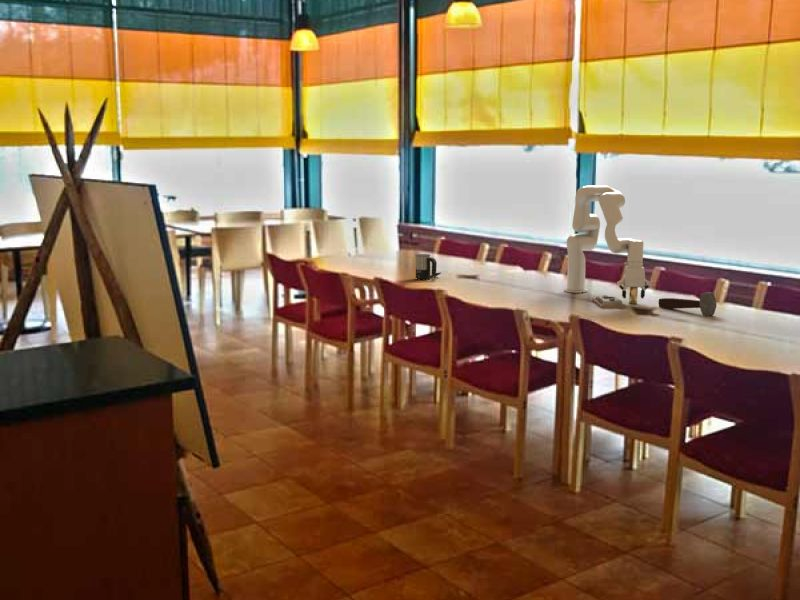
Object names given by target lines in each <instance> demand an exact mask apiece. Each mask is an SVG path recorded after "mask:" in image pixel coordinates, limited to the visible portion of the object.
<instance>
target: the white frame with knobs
mask: <svg viewBox="0 0 800 600" xmlns="http://www.w3.org/2000/svg"><path fill="white" fill-rule="evenodd" d="M591 300H592V302H593V301H594V304H596V305H597V306H598V307H599V306H600V309H624V308H625V309H626V305H625V304H624V303H623V301H622V300H621V299H620V298H619V297H617V296H616V295H615V296H613V295H612V296H611V295H610V296H608V294H607V295H606V294H605V295H604V294H603V295H602V296H595V297H593V298H592V299H591Z"/></svg>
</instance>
